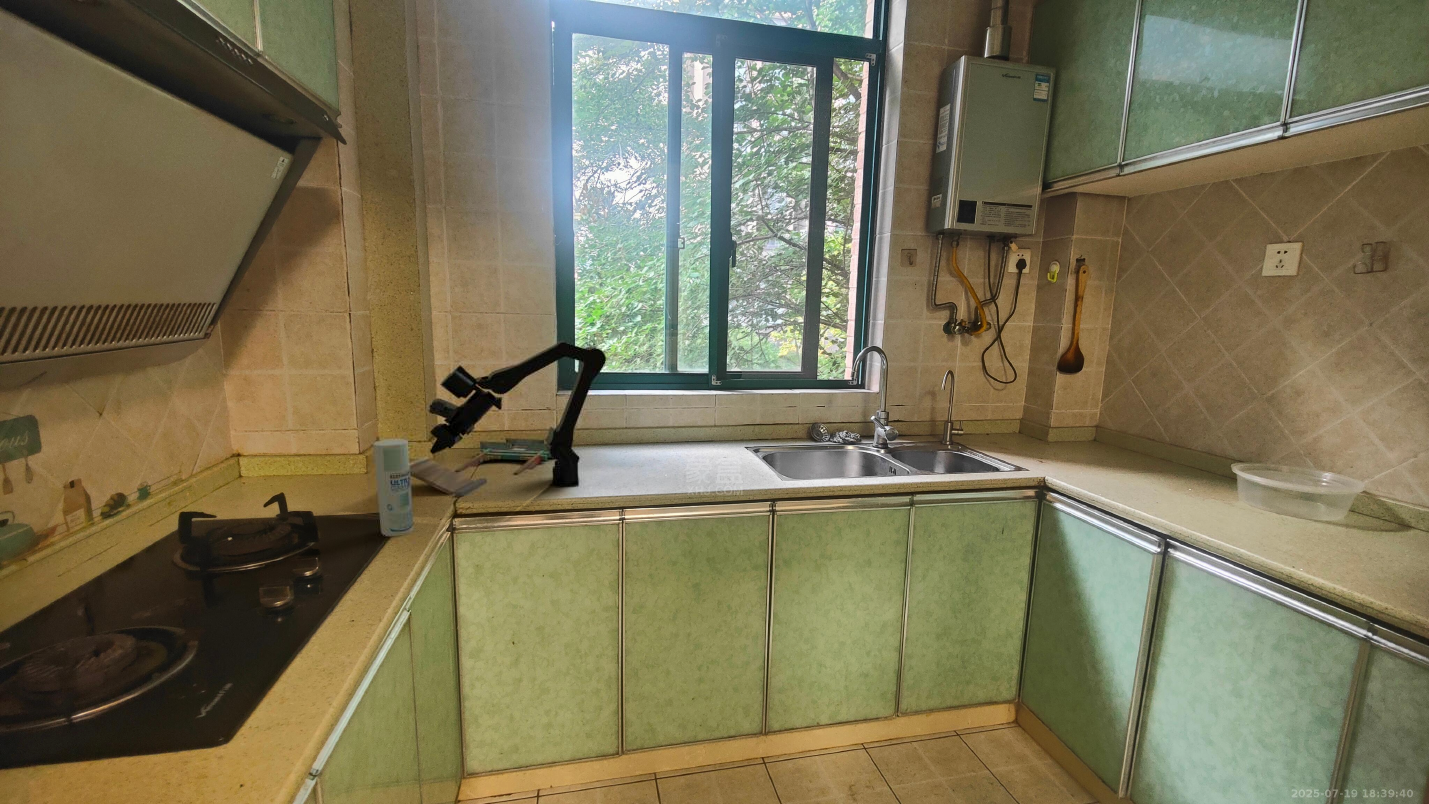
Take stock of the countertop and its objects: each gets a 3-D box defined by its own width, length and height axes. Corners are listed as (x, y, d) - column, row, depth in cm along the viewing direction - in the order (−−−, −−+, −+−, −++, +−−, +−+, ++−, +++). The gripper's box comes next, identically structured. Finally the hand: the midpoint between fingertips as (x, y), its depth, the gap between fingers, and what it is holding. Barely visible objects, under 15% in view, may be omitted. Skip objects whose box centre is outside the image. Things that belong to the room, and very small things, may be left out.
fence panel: (474, 480, 159) (425, 456, 160) (453, 491, 149) (401, 466, 149) (472, 484, 159) (424, 461, 160) (451, 496, 149) (399, 471, 150)
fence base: (487, 485, 160) (486, 478, 159) (463, 500, 148) (462, 492, 147) (480, 485, 160) (479, 478, 159) (455, 499, 148) (455, 492, 148)
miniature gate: (441, 464, 169) (489, 434, 198) (443, 482, 170) (491, 450, 199) (531, 467, 166) (567, 437, 195) (532, 486, 168) (568, 453, 197)
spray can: (392, 539, 124) (384, 447, 120) (374, 532, 127) (366, 443, 124) (420, 529, 129) (414, 440, 126) (402, 523, 132) (395, 437, 129)
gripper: (459, 383, 158) (419, 424, 159) (436, 393, 140) (391, 439, 141) (491, 411, 161) (452, 451, 161) (473, 425, 142) (428, 470, 143)
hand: (431, 452), depth 151 cm, fingers closed
